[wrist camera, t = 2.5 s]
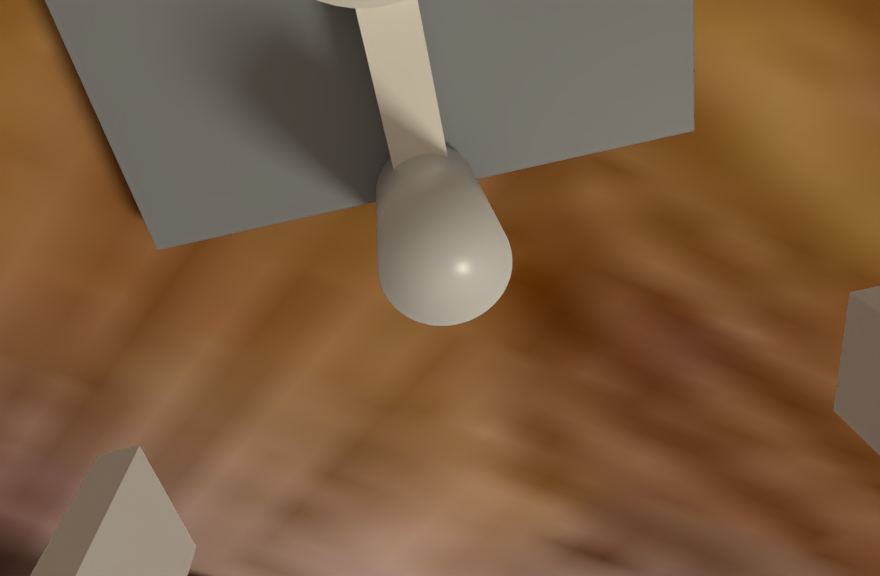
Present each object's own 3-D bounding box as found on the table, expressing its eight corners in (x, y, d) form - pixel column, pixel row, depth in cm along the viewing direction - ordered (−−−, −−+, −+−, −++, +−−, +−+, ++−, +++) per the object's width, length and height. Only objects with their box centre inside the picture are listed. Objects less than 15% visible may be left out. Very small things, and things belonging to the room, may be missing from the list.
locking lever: (182, -271, 18) (81, -402, 11) (457, -332, 18) (504, -495, 11) (341, 259, 26) (332, 351, 19) (531, 216, 26) (583, 296, 19)
